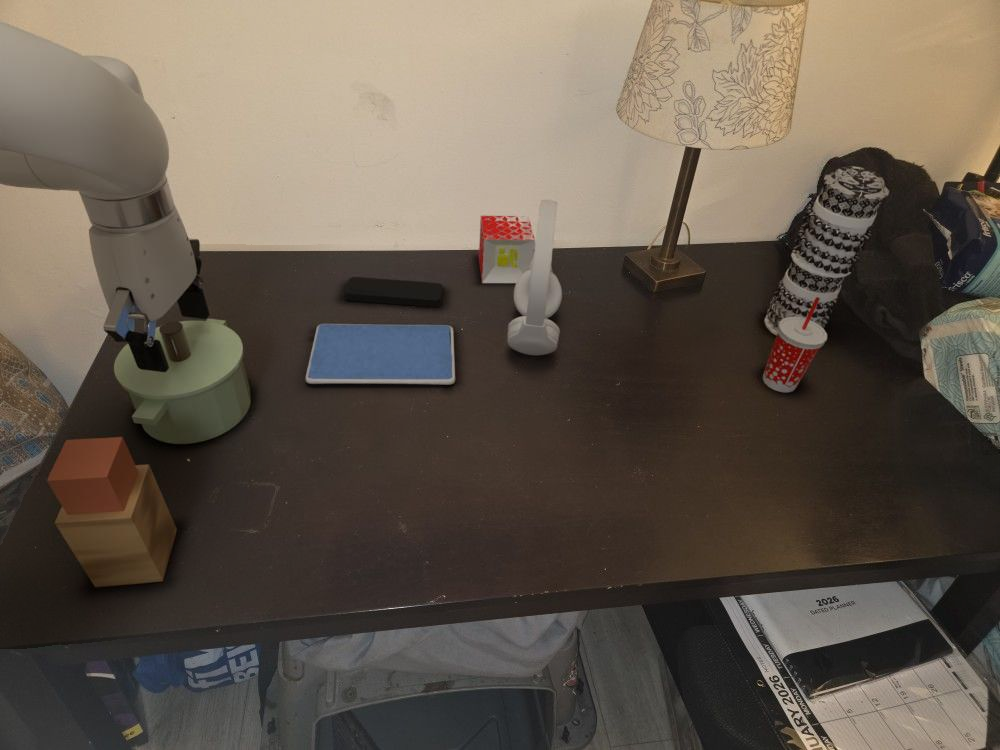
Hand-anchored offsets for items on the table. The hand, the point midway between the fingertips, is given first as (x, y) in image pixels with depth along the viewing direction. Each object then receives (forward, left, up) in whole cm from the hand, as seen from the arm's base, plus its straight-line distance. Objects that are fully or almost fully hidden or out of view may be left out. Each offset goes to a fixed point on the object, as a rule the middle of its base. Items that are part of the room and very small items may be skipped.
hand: (176, 341), depth 73 cm
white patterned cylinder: (+32, -80, -10) cm, 87 cm away
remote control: (+28, -18, -10) cm, 35 cm away
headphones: (+22, -40, -10) cm, 47 cm away
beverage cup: (+18, -75, -10) cm, 78 cm away
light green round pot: (0, 0, -10) cm, 10 cm away
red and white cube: (+39, -34, -10) cm, 53 cm away
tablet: (+13, -20, -10) cm, 26 cm away
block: (-21, -4, 0) cm, 21 cm away
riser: (-21, -4, -10) cm, 24 cm away
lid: (0, 0, -3) cm, 3 cm away
